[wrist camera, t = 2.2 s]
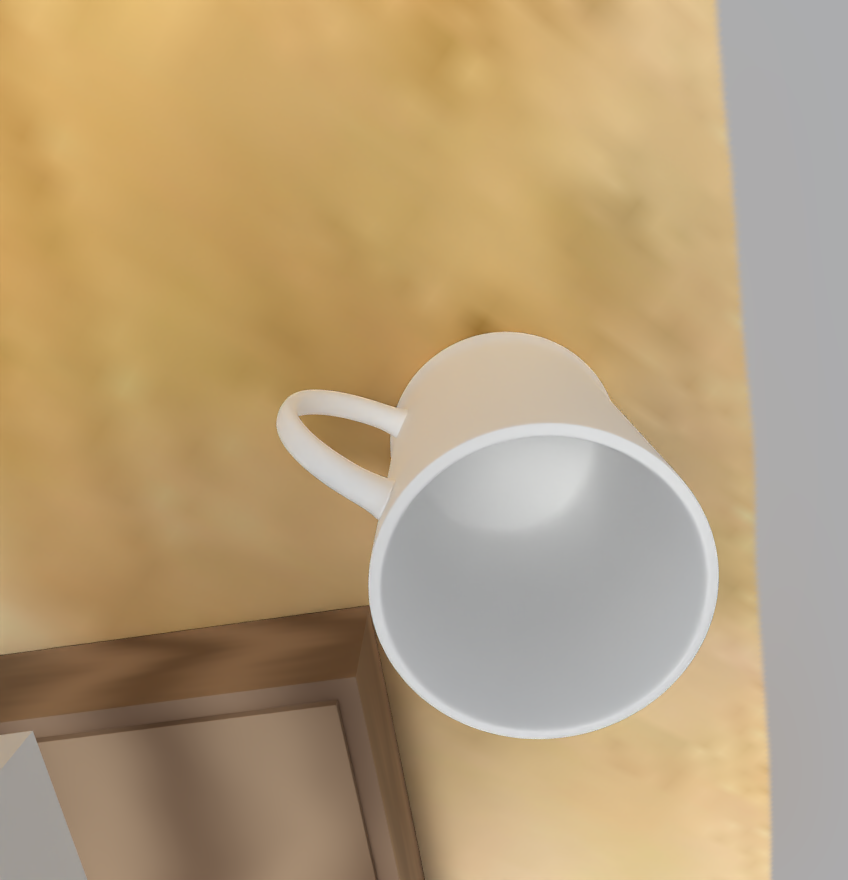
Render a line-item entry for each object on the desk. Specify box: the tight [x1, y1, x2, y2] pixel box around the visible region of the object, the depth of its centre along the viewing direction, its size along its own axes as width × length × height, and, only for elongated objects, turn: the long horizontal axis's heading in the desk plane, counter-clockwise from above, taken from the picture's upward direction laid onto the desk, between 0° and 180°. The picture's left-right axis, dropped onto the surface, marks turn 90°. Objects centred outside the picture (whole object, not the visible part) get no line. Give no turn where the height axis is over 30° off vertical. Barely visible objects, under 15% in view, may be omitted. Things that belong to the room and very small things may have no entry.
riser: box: [0, 606, 425, 880], centre depth 31 cm, size 16×16×5 cm
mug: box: [276, 332, 719, 739], centre depth 23 cm, size 12×8×12 cm
